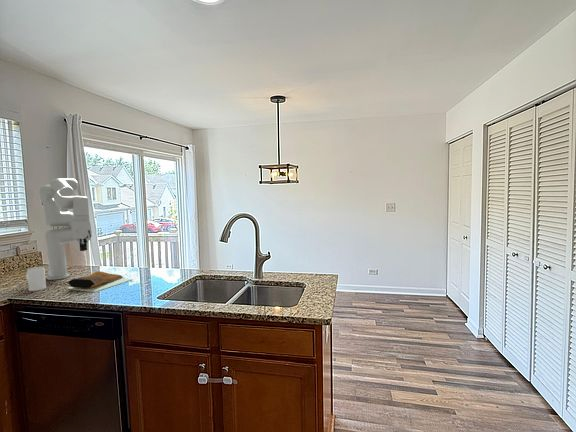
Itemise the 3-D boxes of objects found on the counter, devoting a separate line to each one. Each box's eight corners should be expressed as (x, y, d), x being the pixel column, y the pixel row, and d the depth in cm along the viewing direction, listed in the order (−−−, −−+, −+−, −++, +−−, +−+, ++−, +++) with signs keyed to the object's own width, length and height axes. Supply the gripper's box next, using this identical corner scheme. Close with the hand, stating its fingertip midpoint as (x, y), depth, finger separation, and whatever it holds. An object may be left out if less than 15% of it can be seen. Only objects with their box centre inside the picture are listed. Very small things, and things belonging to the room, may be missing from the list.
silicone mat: (66, 288, 198) (66, 287, 198) (106, 277, 223) (106, 276, 223) (94, 292, 190) (94, 291, 190) (132, 279, 215) (132, 279, 215)
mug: (20, 289, 197) (19, 269, 196) (36, 285, 205) (34, 265, 204) (35, 291, 193) (33, 270, 192) (50, 287, 201) (48, 267, 200)
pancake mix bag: (97, 277, 193) (124, 272, 221) (65, 275, 195) (96, 270, 222) (96, 289, 193) (124, 282, 221) (64, 287, 194) (95, 281, 222)
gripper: (65, 218, 193) (67, 251, 194) (85, 219, 188) (87, 252, 189) (78, 217, 200) (80, 248, 201) (97, 218, 195) (99, 250, 196)
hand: (83, 250), depth 195 cm, fingers closed
